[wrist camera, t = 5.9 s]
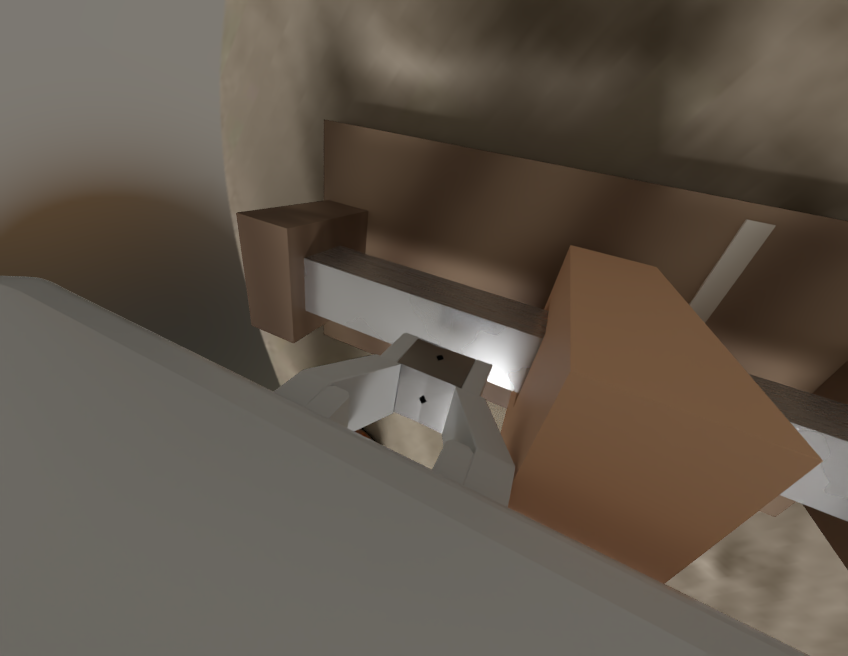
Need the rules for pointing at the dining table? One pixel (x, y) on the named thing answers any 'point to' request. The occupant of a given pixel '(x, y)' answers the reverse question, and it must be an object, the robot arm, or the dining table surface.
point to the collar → (642, 423)
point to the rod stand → (555, 274)
